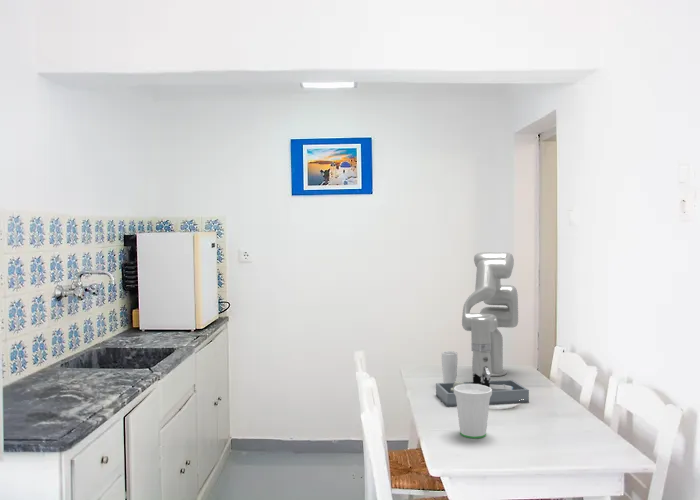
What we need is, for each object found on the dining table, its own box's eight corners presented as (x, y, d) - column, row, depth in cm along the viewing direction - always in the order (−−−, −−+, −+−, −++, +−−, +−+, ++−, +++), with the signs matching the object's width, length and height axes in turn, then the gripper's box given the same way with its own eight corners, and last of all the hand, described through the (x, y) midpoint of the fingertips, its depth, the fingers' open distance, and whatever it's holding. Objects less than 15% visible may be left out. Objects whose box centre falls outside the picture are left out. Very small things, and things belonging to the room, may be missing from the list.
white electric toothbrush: (514, 387, 235) (453, 380, 233) (512, 403, 235) (451, 397, 233) (510, 384, 240) (450, 377, 238) (508, 400, 240) (448, 393, 238)
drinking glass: (440, 388, 253) (440, 353, 253) (443, 384, 260) (443, 350, 259) (455, 389, 251) (455, 354, 250) (459, 385, 257) (458, 351, 257)
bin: (436, 395, 242) (435, 383, 242) (512, 391, 246) (512, 379, 246) (447, 406, 226) (447, 393, 226) (528, 402, 231) (528, 389, 230)
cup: (484, 443, 187) (484, 395, 187) (448, 436, 194) (447, 390, 193) (497, 431, 198) (497, 386, 197) (462, 425, 204) (461, 382, 204)
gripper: (498, 351, 228) (498, 395, 228) (482, 343, 245) (482, 383, 245) (479, 351, 227) (479, 395, 227) (465, 343, 244) (465, 384, 244)
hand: (481, 389), depth 236 cm, fingers open, 9 cm apart
